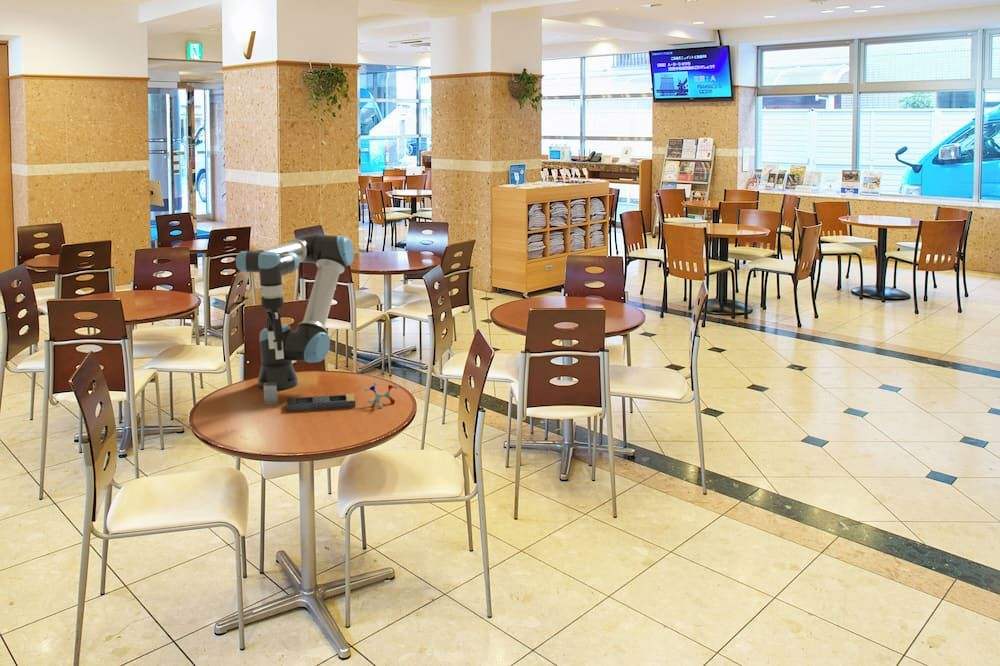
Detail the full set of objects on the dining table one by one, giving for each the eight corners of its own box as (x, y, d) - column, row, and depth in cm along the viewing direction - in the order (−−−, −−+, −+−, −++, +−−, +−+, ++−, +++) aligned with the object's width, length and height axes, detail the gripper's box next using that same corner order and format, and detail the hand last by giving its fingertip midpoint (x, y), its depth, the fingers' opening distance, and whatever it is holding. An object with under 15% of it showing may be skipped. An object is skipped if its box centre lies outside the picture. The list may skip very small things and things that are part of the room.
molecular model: (390, 401, 313) (380, 376, 315) (368, 412, 316) (358, 387, 318) (404, 401, 324) (394, 376, 326) (383, 412, 327) (374, 387, 329)
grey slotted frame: (287, 404, 321) (287, 397, 320) (354, 400, 326) (353, 393, 325) (287, 411, 313) (287, 404, 313) (355, 407, 318) (355, 400, 318)
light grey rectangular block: (265, 400, 325) (263, 382, 323) (277, 400, 326) (276, 382, 324) (264, 404, 321) (263, 386, 319) (277, 403, 322) (276, 385, 320)
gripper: (255, 289, 319) (260, 345, 325) (267, 304, 297) (271, 364, 303) (276, 287, 322) (280, 343, 328) (289, 302, 300) (293, 361, 306)
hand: (276, 353), depth 316 cm, fingers open, 13 cm apart
